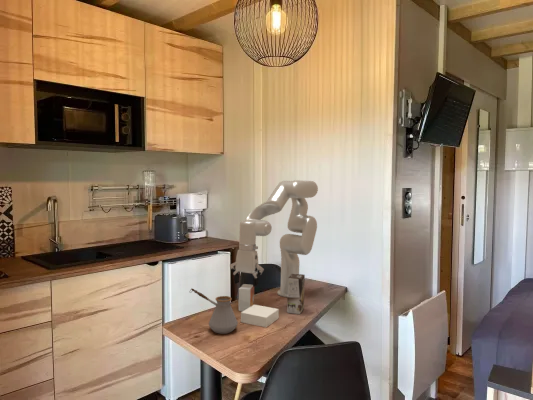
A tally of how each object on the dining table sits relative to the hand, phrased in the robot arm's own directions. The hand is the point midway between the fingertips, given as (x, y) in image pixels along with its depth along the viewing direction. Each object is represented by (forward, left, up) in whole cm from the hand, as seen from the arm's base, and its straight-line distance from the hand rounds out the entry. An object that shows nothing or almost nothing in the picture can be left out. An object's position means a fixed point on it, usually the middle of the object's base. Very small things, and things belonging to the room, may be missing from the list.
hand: (245, 284), depth 184 cm
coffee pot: (+26, -1, -12) cm, 29 cm away
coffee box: (-10, +21, -12) cm, 26 cm away
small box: (-1, 0, -12) cm, 12 cm away
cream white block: (+9, +12, -12) cm, 19 cm away
